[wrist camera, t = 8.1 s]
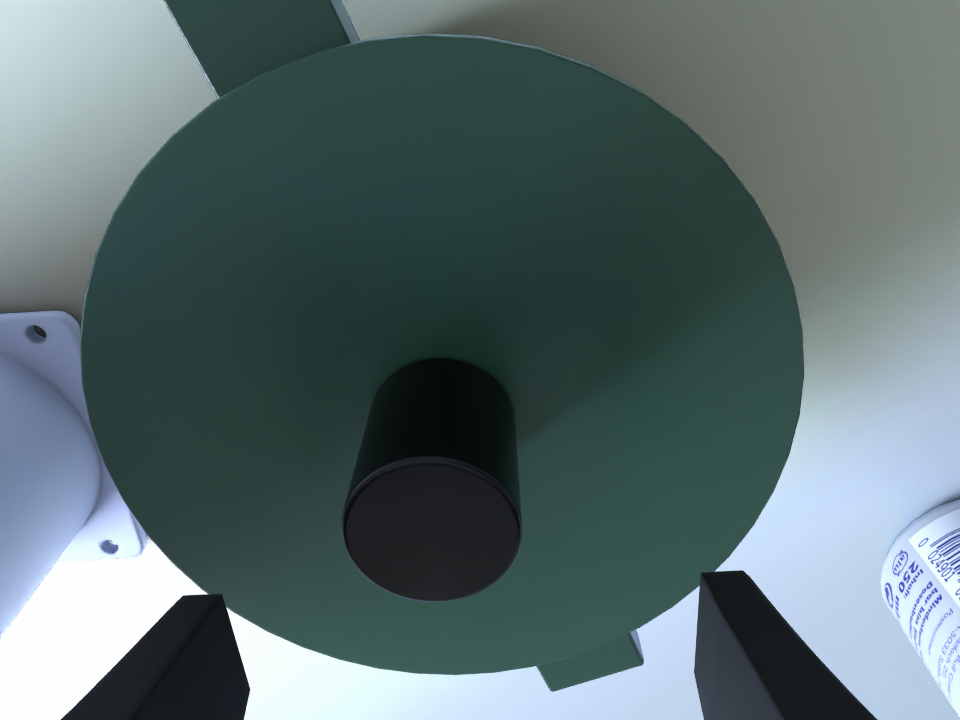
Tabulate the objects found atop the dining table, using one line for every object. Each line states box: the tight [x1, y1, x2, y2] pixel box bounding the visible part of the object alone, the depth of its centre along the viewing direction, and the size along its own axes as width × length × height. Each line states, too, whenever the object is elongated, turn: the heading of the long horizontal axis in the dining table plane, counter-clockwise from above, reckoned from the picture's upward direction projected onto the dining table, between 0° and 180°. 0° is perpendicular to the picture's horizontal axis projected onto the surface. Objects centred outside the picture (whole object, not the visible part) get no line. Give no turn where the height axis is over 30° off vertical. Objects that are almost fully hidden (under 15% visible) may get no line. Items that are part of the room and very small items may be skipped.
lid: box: [80, 33, 804, 675], centre depth 13 cm, size 13×13×4 cm
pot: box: [163, 0, 644, 692], centre depth 17 cm, size 12×17×6 cm
